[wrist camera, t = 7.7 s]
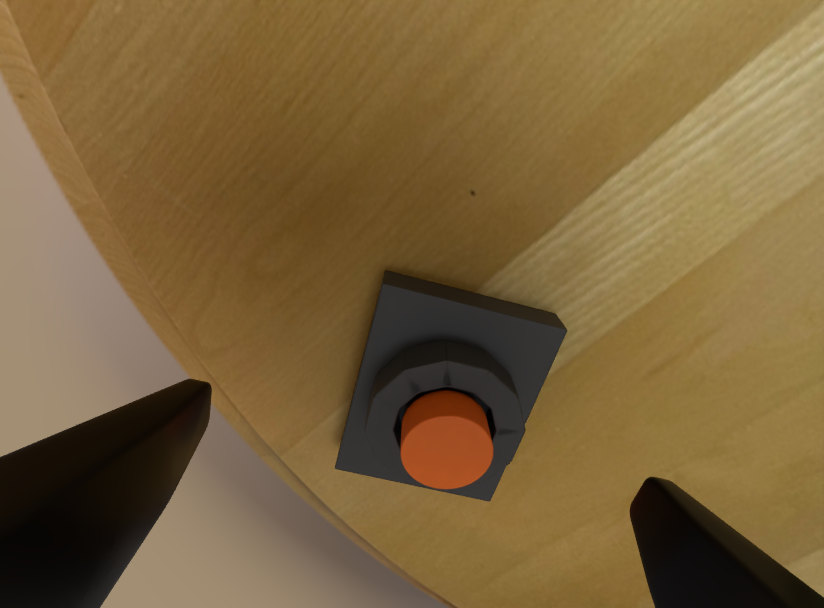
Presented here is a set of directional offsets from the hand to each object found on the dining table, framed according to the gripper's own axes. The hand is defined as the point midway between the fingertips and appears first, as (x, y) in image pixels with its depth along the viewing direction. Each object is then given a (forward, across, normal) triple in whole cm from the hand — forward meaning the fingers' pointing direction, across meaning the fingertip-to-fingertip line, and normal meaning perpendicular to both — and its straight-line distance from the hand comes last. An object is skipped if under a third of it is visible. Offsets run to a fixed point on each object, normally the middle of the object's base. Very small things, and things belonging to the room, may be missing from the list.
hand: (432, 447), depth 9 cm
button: (+8, -2, +5) cm, 10 cm away
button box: (+11, -2, +5) cm, 13 cm away
